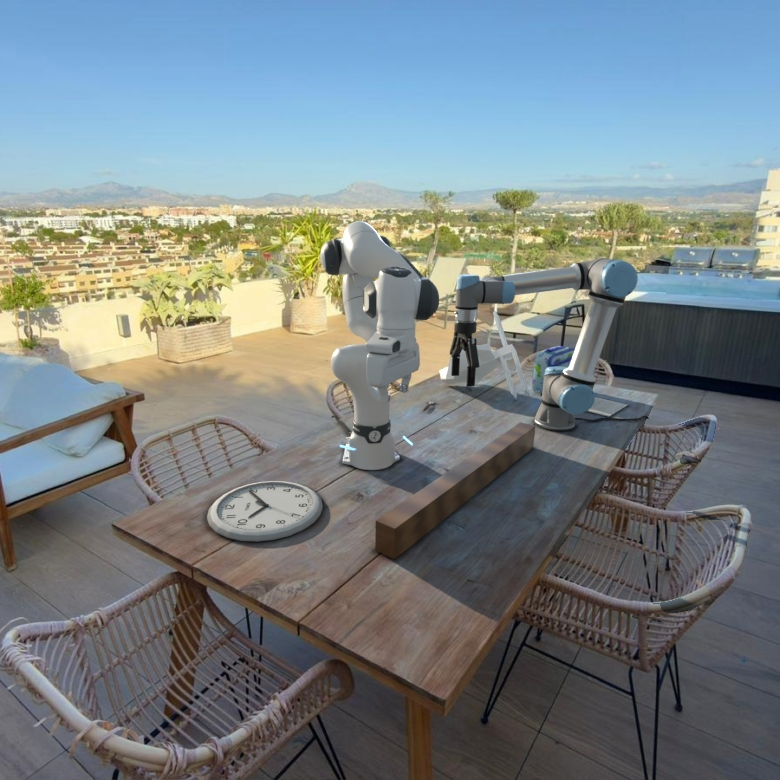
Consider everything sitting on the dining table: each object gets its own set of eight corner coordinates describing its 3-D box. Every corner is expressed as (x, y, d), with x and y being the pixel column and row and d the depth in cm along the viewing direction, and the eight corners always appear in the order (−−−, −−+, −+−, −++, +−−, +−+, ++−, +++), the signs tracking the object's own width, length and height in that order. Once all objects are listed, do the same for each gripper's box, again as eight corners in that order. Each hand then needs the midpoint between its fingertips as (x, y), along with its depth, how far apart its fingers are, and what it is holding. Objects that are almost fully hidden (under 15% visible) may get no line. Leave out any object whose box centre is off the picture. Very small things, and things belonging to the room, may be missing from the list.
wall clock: (320, 533, 126) (192, 537, 124) (320, 539, 127) (193, 543, 124) (324, 476, 155) (220, 479, 152) (324, 481, 155) (221, 484, 153)
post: (518, 443, 186) (520, 422, 184) (533, 447, 183) (535, 425, 181) (375, 550, 123) (375, 520, 121) (394, 559, 120) (394, 528, 118)
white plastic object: (461, 429, 252) (437, 405, 227) (444, 352, 274) (420, 323, 250) (535, 404, 240) (518, 377, 215) (510, 326, 262) (492, 293, 237)
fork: (420, 411, 216) (420, 406, 216) (430, 400, 230) (431, 395, 230) (426, 412, 215) (426, 407, 215) (436, 401, 230) (436, 396, 229)
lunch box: (548, 399, 235) (554, 353, 228) (527, 393, 242) (532, 349, 236) (576, 387, 252) (581, 345, 246) (555, 383, 259) (560, 341, 253)
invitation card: (608, 416, 214) (573, 407, 224) (608, 416, 214) (573, 408, 224) (628, 404, 229) (594, 396, 238) (628, 405, 229) (594, 397, 238)
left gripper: (403, 331, 131) (403, 384, 135) (361, 345, 114) (361, 405, 118) (426, 333, 128) (425, 388, 132) (386, 348, 111) (386, 410, 115)
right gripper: (442, 315, 189) (439, 372, 195) (470, 328, 166) (467, 391, 172) (461, 314, 191) (458, 370, 197) (492, 327, 168) (487, 390, 174)
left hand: (395, 396), depth 125 cm, fingers open, 8 cm apart
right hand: (462, 380), depth 185 cm, fingers open, 13 cm apart
